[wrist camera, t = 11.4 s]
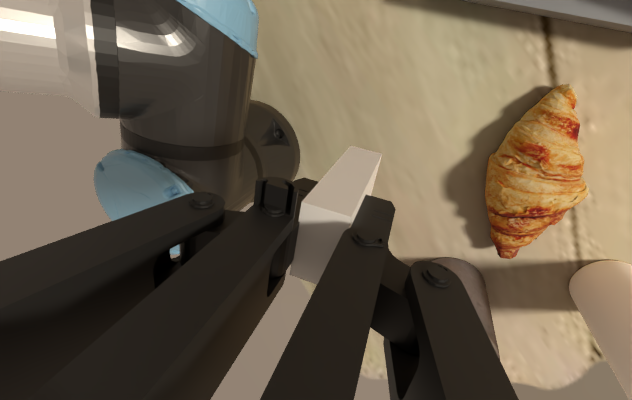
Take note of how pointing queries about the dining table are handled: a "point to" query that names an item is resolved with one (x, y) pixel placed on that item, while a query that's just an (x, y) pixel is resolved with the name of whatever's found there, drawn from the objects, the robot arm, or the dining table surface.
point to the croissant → (535, 173)
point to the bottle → (608, 312)
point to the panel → (574, 11)
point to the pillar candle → (473, 292)
